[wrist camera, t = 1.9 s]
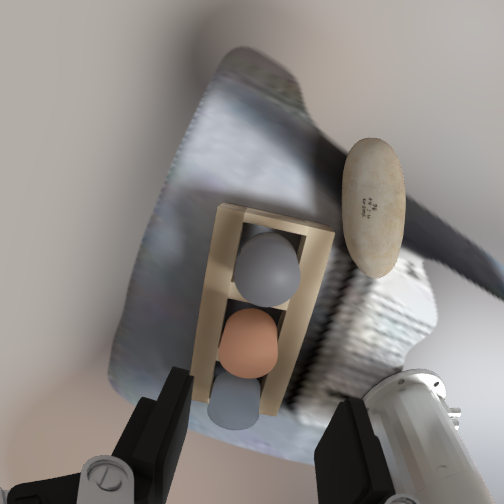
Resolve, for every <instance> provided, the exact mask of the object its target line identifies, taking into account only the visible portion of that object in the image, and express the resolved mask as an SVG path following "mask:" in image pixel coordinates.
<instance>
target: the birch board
mask: <svg viewBox="0 0 504 504" xmlns="http://www.w3.org/2000/svg"><path fill="white" fill-rule="evenodd" d="M244 222H246V223H251V224H256V225H260V226H265V227H269V228H274V229H279V230H283V231H288V232H292V233H296V234H301V235H302V236H301V240H300V244H299V248H298V251H297V255H296V256H297V260H298V264H299V268H300V274H301V278H300V284H299V287H298V289H297V291H296V292H295V294H294V295H293V296H292V297H291V298H290V299H289V300H288V301H286V302H285V303H283V304H281V305H278V306H274V307H271V308H276V309H281V310H282V312H281V315H280V319H279V323H278V326H277V346H278V358H277V362H276V365H275V366H274V368H273V369H272V370H271V371H270V372H269V373H267V374H266V375H264V376H263V378H262V381H261V385H260V405H259V414H264V415H270V416H276V415H277V413H278V410H279V408H280V405H281V402H282V400H283V397H284V394H285V391H286V389H287V386H288V383H289V380H290V377H291V375H292V372H293V369H294V366H295V363H296V360H297V357H298V354H299V351H300V348H301V346H302V343H303V339H304V336H305V333H306V330H307V327H308V324H309V321H310V318H311V315H312V311H313V308H314V305H315V302H316V299H317V295H318V292H319V289H320V285H321V282H322V278H323V275H324V272H325V268H326V265H327V261H328V258H329V254H330V250H331V247H332V243H333V239H334V236H335V232H334V231H333V230H332V228H331V227H330V226H328V225H324V224H319V223H315V222H311V221H307V220H302V219H298V218H294V217H289V216H285V215H280V214H276V213H271V212H267V211H262V210H257V209H253V208H248V207H243V206H239V205H234V204H229V203H224V202H222V203H221V204H220V205H219V206H218V207H217V212H216V217H215V223H214V228H213V234H212V239H211V245H210V250H209V256H208V262H207V268H206V274H205V280H204V286H203V292H202V298H201V304H200V310H199V317H198V323H197V330H196V337H195V343H194V350H193V357H192V364H191V371H190V375H192V376H194V384H193V391H192V398H191V400H195V401H200V402H204V403H208V404H209V401H210V397H211V393H212V389H213V385H214V382H213V377H214V372H215V367H216V362H217V361H220V360H219V355H218V351H219V347H220V343H221V339H222V336H223V332H222V331H223V326H224V321H225V315H226V310H227V305H228V300H229V299H234V300H238V301H243V302H248V301H247V300H246V299H244V298H243V297H242V296H241V294H240V293H239V291H238V290H237V288H236V285H235V281H234V270H235V266H236V261H237V256H238V251H239V246H240V241H241V236H242V231H243V226H244ZM248 303H250V302H248Z"/></svg>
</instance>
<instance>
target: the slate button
mask: <svg viewBox="0 0 504 504" xmlns="http://www.w3.org/2000/svg"><path fill="white" fill-rule="evenodd" d="M259 405H260V383H259V381H258V380H257V378H252V379H247V378H241V377H237V376H235V375H233V374H231V373H229V372H228V371H224V372H222V373H221V374H219V375H218V376H217V377H216V379H215V381H214V385H213V389H212V393H211V397H210V401H209V404H208V408H207V412H208V416H209V418H210V419H211V420H212V421H213V422H214V423H215V424H216V425H218V426H220V427H222V428H225V429H229V430H243V429H247V428H249V427H251V426H253V425H254V424H255V423H256V422H257V420H258V418H259Z"/></svg>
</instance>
